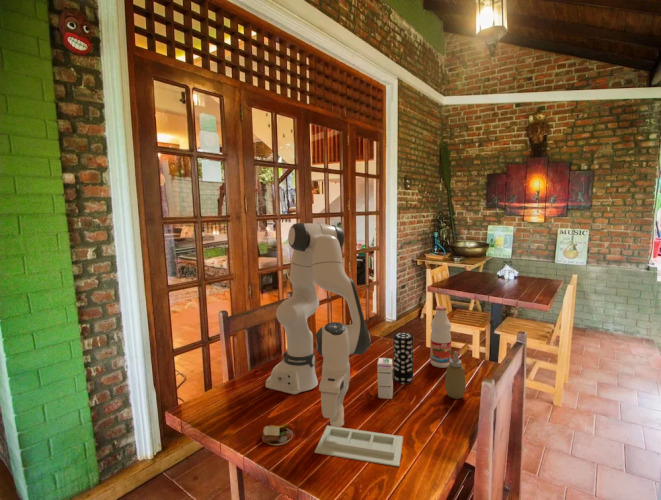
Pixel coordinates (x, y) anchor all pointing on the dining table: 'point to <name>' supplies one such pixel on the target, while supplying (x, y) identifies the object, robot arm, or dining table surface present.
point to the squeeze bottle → (455, 378)
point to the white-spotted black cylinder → (403, 358)
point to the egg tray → (361, 445)
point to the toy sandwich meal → (276, 434)
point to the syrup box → (385, 378)
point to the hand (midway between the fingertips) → (337, 415)
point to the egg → (339, 417)
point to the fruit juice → (440, 339)
